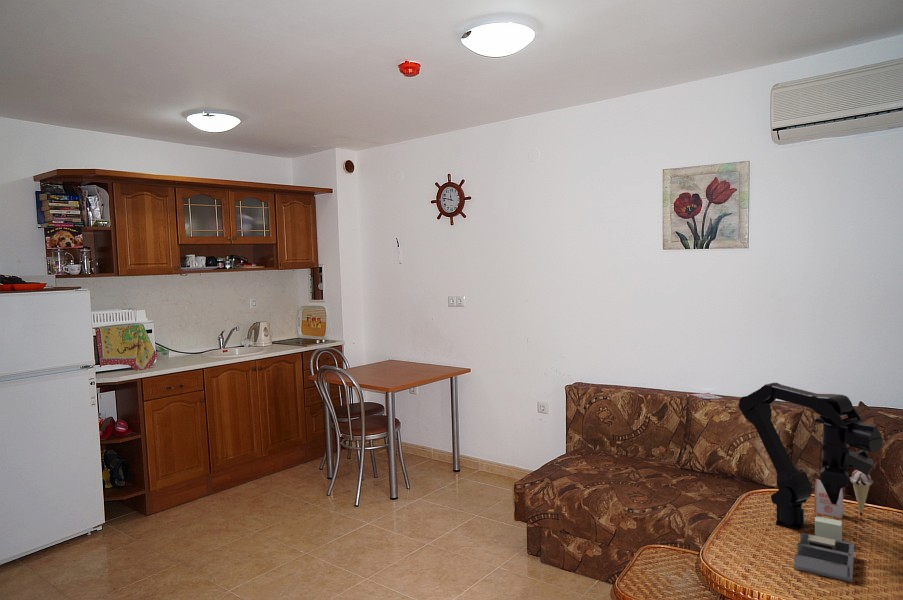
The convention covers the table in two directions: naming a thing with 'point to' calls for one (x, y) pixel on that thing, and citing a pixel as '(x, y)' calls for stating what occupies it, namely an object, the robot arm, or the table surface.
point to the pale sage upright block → (828, 528)
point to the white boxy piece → (827, 502)
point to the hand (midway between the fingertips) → (834, 497)
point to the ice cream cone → (861, 487)
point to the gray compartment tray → (825, 557)
